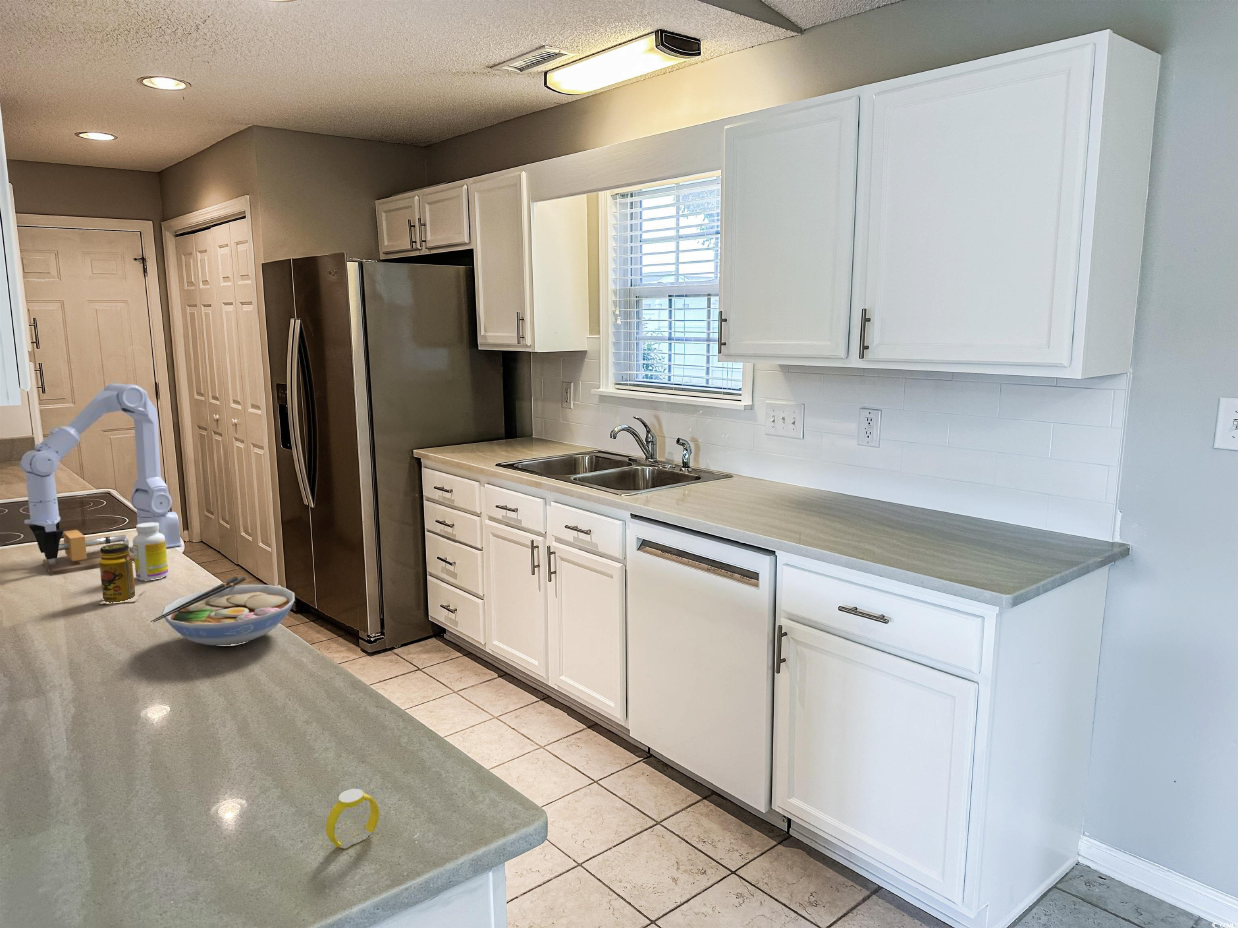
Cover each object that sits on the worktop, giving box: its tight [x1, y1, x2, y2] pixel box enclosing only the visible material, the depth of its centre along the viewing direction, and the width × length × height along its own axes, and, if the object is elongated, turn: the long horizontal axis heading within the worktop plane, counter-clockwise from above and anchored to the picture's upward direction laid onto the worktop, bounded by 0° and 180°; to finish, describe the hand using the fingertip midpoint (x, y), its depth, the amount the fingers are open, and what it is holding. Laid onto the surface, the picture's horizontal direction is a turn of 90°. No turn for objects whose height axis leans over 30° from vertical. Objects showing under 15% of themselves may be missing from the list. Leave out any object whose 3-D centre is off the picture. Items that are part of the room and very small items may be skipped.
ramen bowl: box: [150, 576, 295, 646], centre depth 158 cm, size 25×23×8 cm
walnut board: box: [42, 550, 134, 576], centre depth 209 cm, size 18×13×1 cm
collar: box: [62, 529, 88, 561], centre depth 206 cm, size 3×9×6 cm, turn 43°
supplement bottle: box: [132, 522, 169, 581], centre depth 196 cm, size 7×7×13 cm
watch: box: [325, 788, 380, 848], centre depth 96 cm, size 6×3×6 cm, turn 137°
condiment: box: [99, 542, 136, 603], centre depth 181 cm, size 7×8×12 cm
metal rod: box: [49, 534, 131, 566], centre depth 208 cm, size 17×2×5 cm, turn 132°
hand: (48, 555), depth 203 cm, fingers open, 7 cm apart
